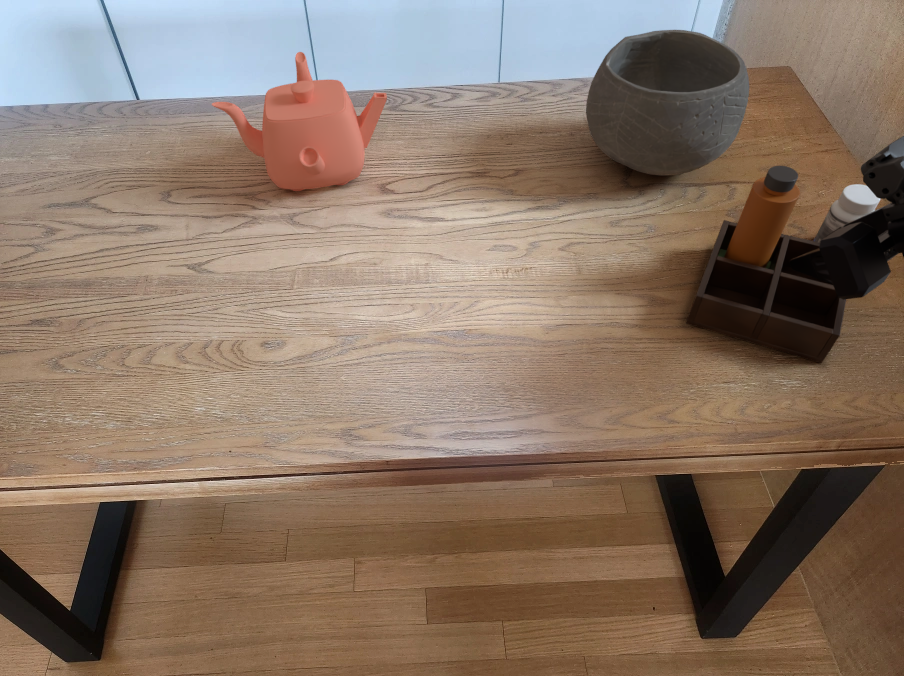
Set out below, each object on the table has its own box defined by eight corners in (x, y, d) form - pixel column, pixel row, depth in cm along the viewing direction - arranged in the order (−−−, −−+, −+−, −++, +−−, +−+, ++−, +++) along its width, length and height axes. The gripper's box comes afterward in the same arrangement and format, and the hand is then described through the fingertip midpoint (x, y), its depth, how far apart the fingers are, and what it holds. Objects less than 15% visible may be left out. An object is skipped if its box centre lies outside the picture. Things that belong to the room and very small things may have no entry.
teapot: (234, 182, 103) (208, 97, 92) (313, 126, 111) (298, 43, 101) (321, 222, 95) (304, 134, 84) (399, 159, 104) (392, 72, 93)
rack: (837, 279, 81) (855, 250, 78) (821, 363, 73) (840, 335, 70) (713, 248, 86) (723, 219, 83) (685, 323, 78) (696, 295, 75)
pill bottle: (845, 237, 86) (877, 181, 79) (857, 261, 83) (891, 206, 76) (806, 236, 86) (834, 181, 80) (817, 261, 83) (847, 206, 77)
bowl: (744, 198, 92) (785, 95, 81) (591, 206, 93) (610, 105, 82) (701, 117, 105) (731, 18, 94) (568, 124, 107) (581, 28, 95)
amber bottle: (770, 276, 81) (818, 178, 70) (738, 289, 80) (782, 191, 69) (742, 253, 84) (784, 155, 73) (711, 265, 83) (749, 168, 72)
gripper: (1016, 87, 59) (846, 146, 74) (890, 165, 53) (733, 212, 68) (1053, 202, 61) (880, 237, 75) (935, 290, 55) (772, 310, 70)
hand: (818, 246), depth 72 cm, fingers open, 9 cm apart
